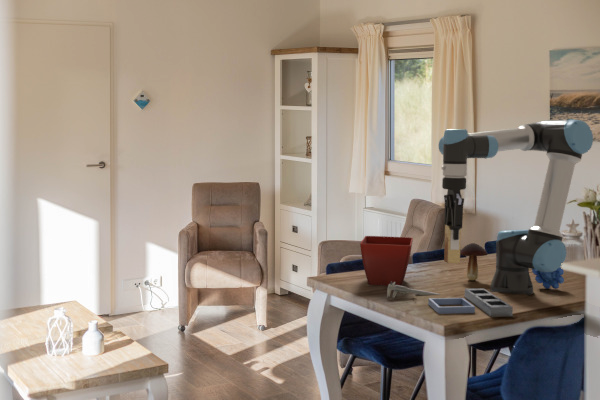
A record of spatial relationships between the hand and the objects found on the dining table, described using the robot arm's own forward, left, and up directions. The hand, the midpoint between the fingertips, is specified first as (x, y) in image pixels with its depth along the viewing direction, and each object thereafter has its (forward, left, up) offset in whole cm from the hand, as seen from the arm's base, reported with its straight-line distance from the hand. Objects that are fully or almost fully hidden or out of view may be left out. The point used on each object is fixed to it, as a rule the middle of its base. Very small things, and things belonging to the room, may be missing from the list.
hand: (452, 248), depth 230 cm
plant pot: (+12, -45, -21) cm, 51 cm away
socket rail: (-13, -2, -21) cm, 25 cm away
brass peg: (0, 0, -5) cm, 5 cm away
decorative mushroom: (-23, -46, -21) cm, 56 cm away
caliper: (+7, -20, -22) cm, 30 cm away
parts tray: (0, 0, -21) cm, 21 cm away
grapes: (-46, -29, -21) cm, 59 cm away
